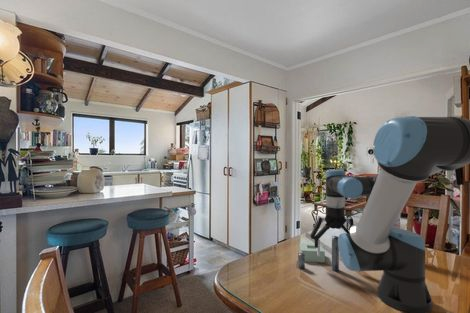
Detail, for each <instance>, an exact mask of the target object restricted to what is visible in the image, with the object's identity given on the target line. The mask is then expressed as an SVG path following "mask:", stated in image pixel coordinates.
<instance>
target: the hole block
mask: <svg viewBox="0 0 470 313" xmlns="http://www.w3.org/2000/svg"><path fill="white" fill-rule="evenodd" d="M299 253H304V254H305V263H307V262H309V263H310V262H311V263H325V262H326V260H325V258H326V254H325V253H326V251H325V250H324V248H323V245H322V243H320V256H318V255H317V248H315V243H313V242H312V243H311V242H310V243H309V242H299Z"/></svg>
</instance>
